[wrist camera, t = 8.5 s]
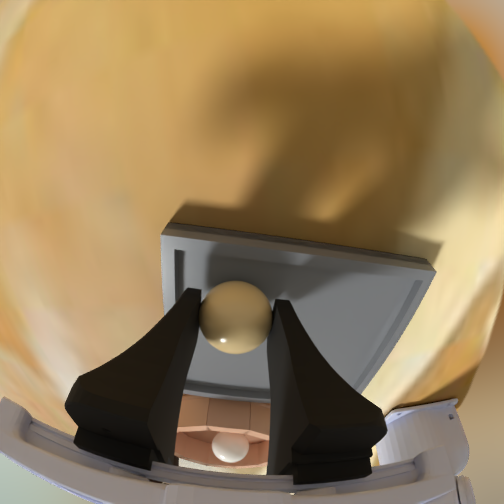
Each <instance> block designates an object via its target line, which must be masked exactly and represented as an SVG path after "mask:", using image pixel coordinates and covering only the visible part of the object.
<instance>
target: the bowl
mask: <svg viewBox="0 0 504 504" xmlns="http://www.w3.org/2000/svg"><path fill="white" fill-rule="evenodd" d="M270 406H271V403H256V402H244V401H234V400H225V399H216V398H209V397H202V396H195V395H189V394H185V395H183V396H182V402H181V408H180V414H179V421H178V428H177V436H176V444H175V453H174V455H175V456H177V457H179V458H182V459H185V460H188V461H192V462H195V463H198V464H202V465H206V466H214V467H224V468H251V467H262V466H266V465H267V463H268V450H269V434H270ZM219 432H229V433H240V434H244V435H245V436H246V438H247V439H248V442H249V451H248V453H247V455H246V456H245V457H244V458H243V459H242V460H240V461H237V462H233V463H229V462H224V461H222V460H220V459H219V458H217V457H216V456H215V454H214V452H213V450H212V441H213V438H214V437H215V436H216V434H218V433H219Z"/></svg>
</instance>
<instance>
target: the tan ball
mask: <svg viewBox="0 0 504 504" xmlns="http://www.w3.org/2000/svg"><path fill="white" fill-rule="evenodd" d="M198 318H199V325H200V329H201V332H202V334H203V336H204V337H205V339H206V340H207V341H208V342H209V343H210V344H211V345H212V346H213V347H215V348H216V349H218V350H220V351H222V352H225V353H229V354H242V353H247V352H250V351H252V350H254V349H256V348H257V347H259V346H260V345H261V344H262V343H263V342H264V341H265V340H266V338H267V337H268V335H269V333H270V331H271V328H272V322H273V312H272V307H271V305H270V302H269V300H268V299H267V297H266V295H265V294H264V293H263V292H262V291H261V290H260V289H259V288H257V287H256V286H254V285H252V284H250V283H247V282H244V281H227V282H223V283H221V284H219V285H217V286H215V287H214V288H212V289H211V290H210V291H209V292H208V293H207V294H206V296H205V297H204V299H203V301H202V302H201V305H200V309H199V317H198Z"/></svg>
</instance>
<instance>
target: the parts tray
mask: <svg viewBox="0 0 504 504" xmlns="http://www.w3.org/2000/svg"><path fill="white" fill-rule="evenodd" d="M161 268H162V289H163V304H164V316H165V315H166V313H167V312H168V311H169V310H170V309H171V308H172V306H173V305H174V304H175V303H176V302H177V300H178V299H179V298H180V296H181V295H182V294H183V292H184V291H185V289H186V288H188V287H189V288H196V289H202V295H201V302H202V301H203V299H204V297H205V296H206V294H207V293H208V292H209V291H210V290H211V289H212V288H214V287H215V286H217V285H219V284H221V283H223V282H227V281H244V282H247V283H250V284H252V285H254V286H256V287H257V288H259V289H260V290H261V291H262V292H263V293H264V294H265V295H266V297H267V299H268V300H269V302H270V305H271V307H272V310H273V306H274V302H275V299H283V300H289V301H290V302H291V304H292V306H293V308H294V310H295V312H296V314H297V316H298V318H299V320H300V321H301V323H302V325H303V327H304V328H305V330H306V332H307V333H308V335H309V337H310V338H311V340H312V341H313V343H314V344H315V346H316V347H317V349H318V350H319V352H320V353H321V354H322V356H323V357H324V358H325V359H326V361H327V362H328V363H329V364H330V365H331V367H332V368H333V369H334V370H335V371H336V372H337V373H338V374H339V375H340V376H341V377H342V378H343V379H344V380H345V381H346V382H347V383H348V384H349V385H350V386H351V387H352V388H354V389H355V390H356V391H357V392H358V393H360V394H361V393H362V392H363V391H364V389H365V388H366V387H367V385H368V384H369V383H370V381H371V380H372V378H373V377H374V376H375V374H376V373H377V372H378V370H379V369H380V367H381V366H382V364H383V363H384V361H385V360H386V359H387V357H388V356H389V354H390V353H391V351H392V350H393V348H394V346H395V345H396V343H397V342H398V340H399V339H400V337H401V335H402V334H403V332H404V331H405V329H406V327H407V326H408V324H409V322H410V321H411V319H412V317H413V315H414V314H415V312H416V310H417V308H418V307H419V305H420V303H421V301H422V299H423V297H424V295H425V294H426V292H427V290H428V288H429V286H430V284H431V282H432V280H433V278H434V276H435V274H436V271H435V269H434V268H433V267H432V266H431V264H430V263H429V262H428V261H427V259H423V258H417V257H410V256H404V255H398V254H392V253H386V252H379V251H373V250H366V249H360V248H353V247H347V246H340V245H333V244H327V243H320V242H313V241H306V240H299V239H292V238H285V237H278V236H270V235H263V234H256V233H248V232H241V231H233V230H225V229H218V228H210V227H202V226H194V225H186V224H177V223H169V222H168V224H167V225H166V227H165V229H164V230H163V232H162V233H161ZM183 394H189V395H195V396H202V397H209V398H216V399H225V400H234V401H244V402H256V403H271V398H270V383H269V372H268V361H267V338H266V340H265V341H264V342H263V343H262V344H261V345H260V346H259V347H257V348H256V349H254V350H252V351H250V352H247V353H242V354H229V353H225V352H222V351H220V350H218V349H216V348H215V347H213V346H212V345H211V344H210V343H209V342H208V341H207V340H206V339H205V337H204V336H203V334H202V332H201V329H200V328H199V334H198V339H197V344H196V347H195V351H194V354H193V358H192V361H191V364H190V368H189V371H188V375H187V378H186V382H185V386H184V390H183Z"/></svg>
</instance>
